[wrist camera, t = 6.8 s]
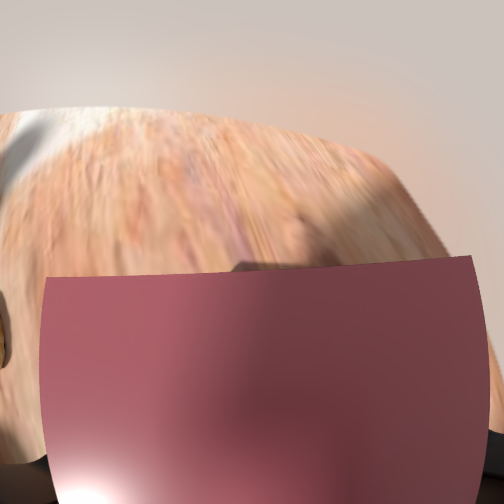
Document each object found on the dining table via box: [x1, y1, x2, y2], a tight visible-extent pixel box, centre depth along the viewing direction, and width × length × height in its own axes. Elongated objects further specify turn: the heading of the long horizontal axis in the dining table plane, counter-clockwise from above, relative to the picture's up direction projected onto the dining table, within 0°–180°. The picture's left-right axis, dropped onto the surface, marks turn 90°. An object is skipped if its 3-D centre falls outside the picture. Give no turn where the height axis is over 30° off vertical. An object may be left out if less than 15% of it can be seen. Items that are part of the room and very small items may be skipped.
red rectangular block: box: [39, 255, 490, 504], centre depth 8 cm, size 4×6×13 cm
